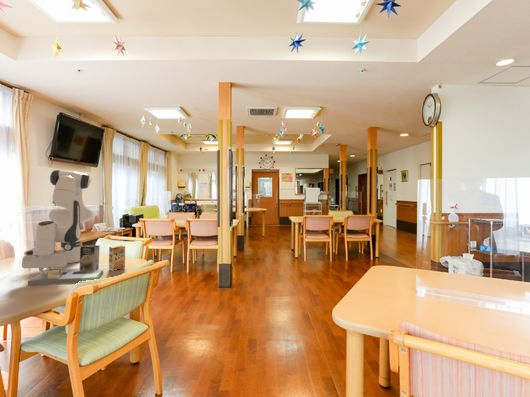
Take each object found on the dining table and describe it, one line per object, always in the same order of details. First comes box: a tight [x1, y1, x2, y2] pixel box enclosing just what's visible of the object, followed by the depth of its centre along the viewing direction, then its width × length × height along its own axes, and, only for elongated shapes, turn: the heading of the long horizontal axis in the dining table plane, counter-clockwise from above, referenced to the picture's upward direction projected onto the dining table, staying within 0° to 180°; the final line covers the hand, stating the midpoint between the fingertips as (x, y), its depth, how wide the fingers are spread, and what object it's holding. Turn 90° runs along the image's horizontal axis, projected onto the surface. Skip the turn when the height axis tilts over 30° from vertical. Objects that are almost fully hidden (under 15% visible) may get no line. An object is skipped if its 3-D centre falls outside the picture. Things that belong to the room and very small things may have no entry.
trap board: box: [27, 269, 104, 286], centre depth 160 cm, size 16×32×2 cm, turn 108°
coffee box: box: [79, 244, 100, 271], centre depth 178 cm, size 9×6×16 cm
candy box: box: [108, 244, 126, 272], centre depth 182 cm, size 9×4×15 cm, turn 150°
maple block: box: [48, 267, 63, 279], centre depth 154 cm, size 5×5×4 cm
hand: (44, 275), depth 153 cm, fingers closed
